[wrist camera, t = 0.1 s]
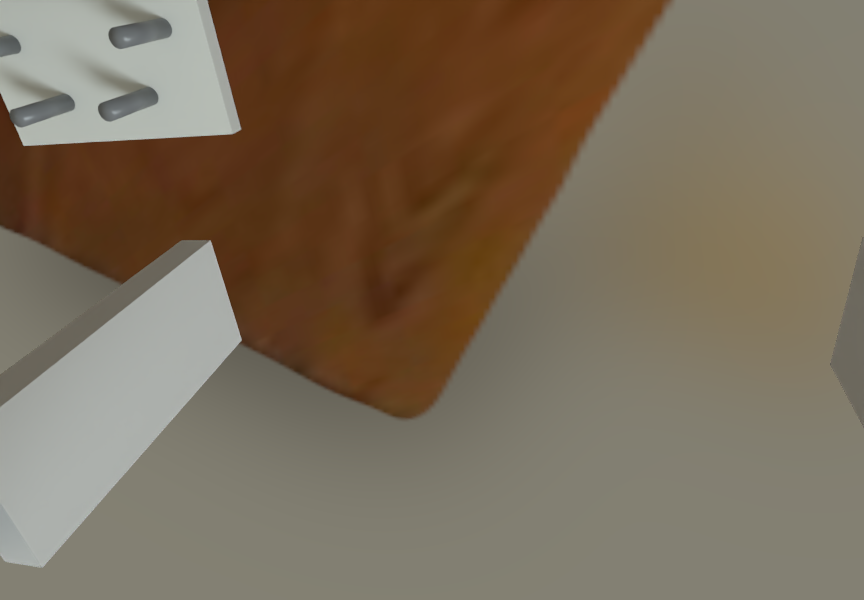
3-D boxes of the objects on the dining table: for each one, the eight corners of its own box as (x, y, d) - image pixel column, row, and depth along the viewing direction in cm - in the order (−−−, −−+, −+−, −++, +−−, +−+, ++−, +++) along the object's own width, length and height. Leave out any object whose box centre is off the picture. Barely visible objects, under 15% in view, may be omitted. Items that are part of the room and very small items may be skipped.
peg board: (-54, -67, 41) (-140, -67, 36) (178, -107, 36) (115, -113, 32) (36, 141, 48) (-27, 164, 43) (241, 129, 43) (196, 153, 39)
